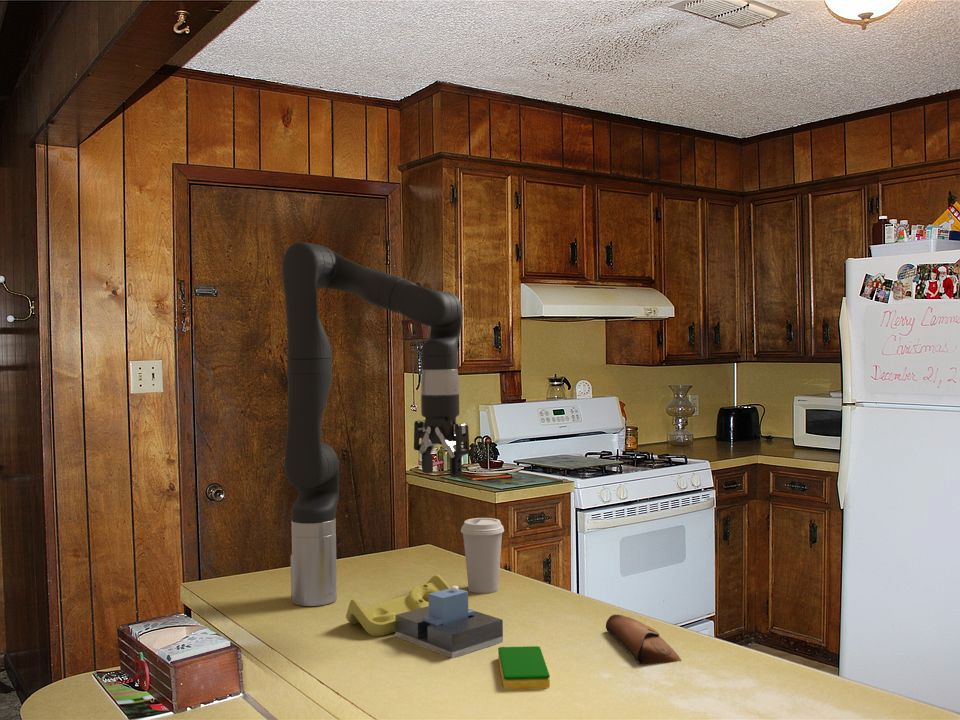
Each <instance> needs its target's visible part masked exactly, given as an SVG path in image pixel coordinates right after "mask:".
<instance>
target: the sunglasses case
mask: <svg viewBox="0 0 960 720" xmlns="http://www.w3.org/2000/svg"><path fill="white" fill-rule="evenodd" d="M605 628H606V629H605V630H606V631H607V632H608V634H610V635H611V636H613V637H614V638H615V639H616V640H617V641H618V642H619V643H620V645H621V646H622V647H624V649H626V651H627V652H628V653H629V654H630V655H631V656H632V657H633V658H634V660H635V661H637V662H638V663H639V664H640V665H641V666H644V665H645V666H646V665H659V664H669V663H670V664H671V663H675V662H682V659H681V657H680V656H679V654H677V652H676V651H675V650H674V649H673V647H671V646H670V645H669V644H668V643H667V642H666V641H665V639H664V638H662V637H661V636H660V632H659V631H657V630H655V629H654V628H652V627H651V626H649V625H647V624H645V623H643V622H640V621H639V620H637V619H634V618H631V617H629V616H626V615H622V614H616V613H615V614H612V615H610V616H609V617H608V619H607V620H606V624H605Z"/></svg>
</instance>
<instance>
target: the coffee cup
mask: <svg viewBox="0 0 960 720" xmlns="http://www.w3.org/2000/svg"><path fill="white" fill-rule="evenodd" d="M460 532H461V534H462V536H463V547H464V555H465V556H464V557H465V565H466V566H465V567H466V575H467V576H466V577H467V587H468V588H467V589H468V592H470V591H471V593H473V592H474V594H491V592H492V593H495V591H496V592H498V590H499V582H500V581H499V580H500V565H501V554H502V552H501V551H502V540H503V539H502V538H503V533H504V532H505V528H504V525H502V522H501V520H500V519H498V518H491V517H476V518H474V517H473V518H469V519H466V520H464V522H463V525H461V528H460Z"/></svg>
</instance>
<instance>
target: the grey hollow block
mask: <svg viewBox="0 0 960 720" xmlns="http://www.w3.org/2000/svg"><path fill="white" fill-rule="evenodd" d="M468 609H469V610H472V611H474V615H471V616H468V619H464V620H461V621H457V622H454V623H450V624H447V625H431V626H429V622H426V621H423V618H422V617H425V616H428V615H429V606H427V607H424V608H420V609H416V610H412V611H409V612H405V613H401V614H397V615H395V623H396V632H395V637H396V638H398V639H400V640H403V641H407V642H408V643H412V644H414V645H417V646H419V647H422V648H425V649H427V650H430V651H432V652H435V653H438V654H440V655H442V656H446V657H448V658H451V659H454V658H459V657H460V656H463V655H466V654H470V653H473V652H476V651H479V650H483V649H485V648H488V647H491V646H494V645H497V644H500V643H503V642H504V629H503V627H504V625H503V621H504V620H503V619H502V618H498V617H495V616H493V615H492V616H491V615H489V614H486V613H483V612H480V611H476V610H473V609H470V608H468Z"/></svg>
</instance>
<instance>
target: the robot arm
mask: <svg viewBox="0 0 960 720" xmlns="http://www.w3.org/2000/svg"><path fill="white" fill-rule="evenodd" d="M282 259H283V260H282V264H281V265H282V266H281V267H282V280H283V290H284V299H285V300H284V301H285V307H286V309H285V310H286V336H287V342H286V344H287V351H286V352H287V353H286V360H287V361H286V368H287V369H286V377H287V431H286V432H287V433H286V443H285V453H284V463H283V464H284V465H283V466H284V472H285V477H286V479H287V480H288V482H289V484H290V485H291V486H293V488H295V489H297V490H298V493H297V494H298V495H297V498H296V500H295V502H294V503H293V505H292V507H291V512H290V517H291V518H290V520H291V555H290V592H291V593H290V595H291V600H292V603H293V604H294V605H297V606H301V607H316V606H317V607H318V606H325V605H329V604H331V603H334V602H336V601H337V599H338V591H337V590H338V587H337V586H338V585H337V582H338V581H337V580H338V578H337V571H338V570H337V530H336V529H337V528H336V527H337V523H336V522H337V521H336V519H337V518H336V515H337V514H336V512H337V508H338V505H339V498H340V464H339V463H340V461H339V457H338V454H337V453H336V451H335V450H334V448H333V447H332V446H331V445H329V444H328V443H325V442H322V420H323V416H324V415H323V414H324V411H325V408H326V404H327V402H328V398H329V394H330V391H331V386H332V380H333V379H332V378H333V366H332V365H333V360H332V358H333V356H332V347H331V343H330V341H329V338H328V336H327V333H326V331H325V328H324V326H323V324H322V321H321V319H320V316H319V311H318V300H317V299H318V298H317V297H318V296H317V295H318V293H317V292H318V289H321V288H322V289H330V290H337V291H343V292H346V293H349V294H352V295H355V296H357V297H359V298H360V299H362V300H364V301H366V302H367V303H369V304H371V305H373V306H376V307H379V308H381V309H384V310H387V311H390V312H392V313H396V314H399V315H403V316H404V317H406V318H408V319H410V320H412V321H413V322H415V323H419V324H421V325H424V326H428V327H430V331H429V338H428V339H427V340H426V341H424V342H423V344H422V345H421V377H420V403H421V407H420V409H421V410H420V412H421V413H420V414H421V417H424V419H420V420H415V421H414V423H413V426H414V427H413V429H414V430H413V450H415V451H418V452H419V454H420V455H421V469H422V473H424V474H430V473H431V474H432V473H433V472H434V454H433V451H434V449H435V446H437V445H442V446H443V448H444V449H445V450H446V451H447V453H448V455H449V476H450V477H451V478H458V477H461V475H462V471H463V468H462V463H463V462H462V458H463V457H464V456H465V455H469V454H470V451H471V450H470V437H469V436H470V435H469V424H468V423H466V422H464V423H463V422H462V423H457V417H459V416H460V379H459V372H458V344H459V341H460V338H461V337H460V336H461V331H462V325H463V316H464V315H463V306H462V303H461V301H460V299H459V298H458V296H457V295H456V294H454V293H452V292H450V291H440V290H435V289H431V288H426V287H423V286H420V285H418V284H416V283H415V282H413V281H411V280H409V279H406V278H402V277H400V276H397V275H394V274H392V273H391V274H390V273H386V272H384V271H380V270H376V269H373V268H369V267H366V266H363V265H361V264H359V263H356V262H354V261H352V260H350V259H348V258H345V257H344V256H343V255H340V254H339V253H337V252H335V251H333V250H331V249H330V248H329V247H326V246H325V245H324V246H323V245H320V244H315V243H309V242H302V241H299V242H294V243H292V244H291V245H290V246H289V247H288V248H287V249H286V251H285V253H284V255H283V258H282ZM420 439H421V443H420ZM462 445H463V447H462Z"/></svg>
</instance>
